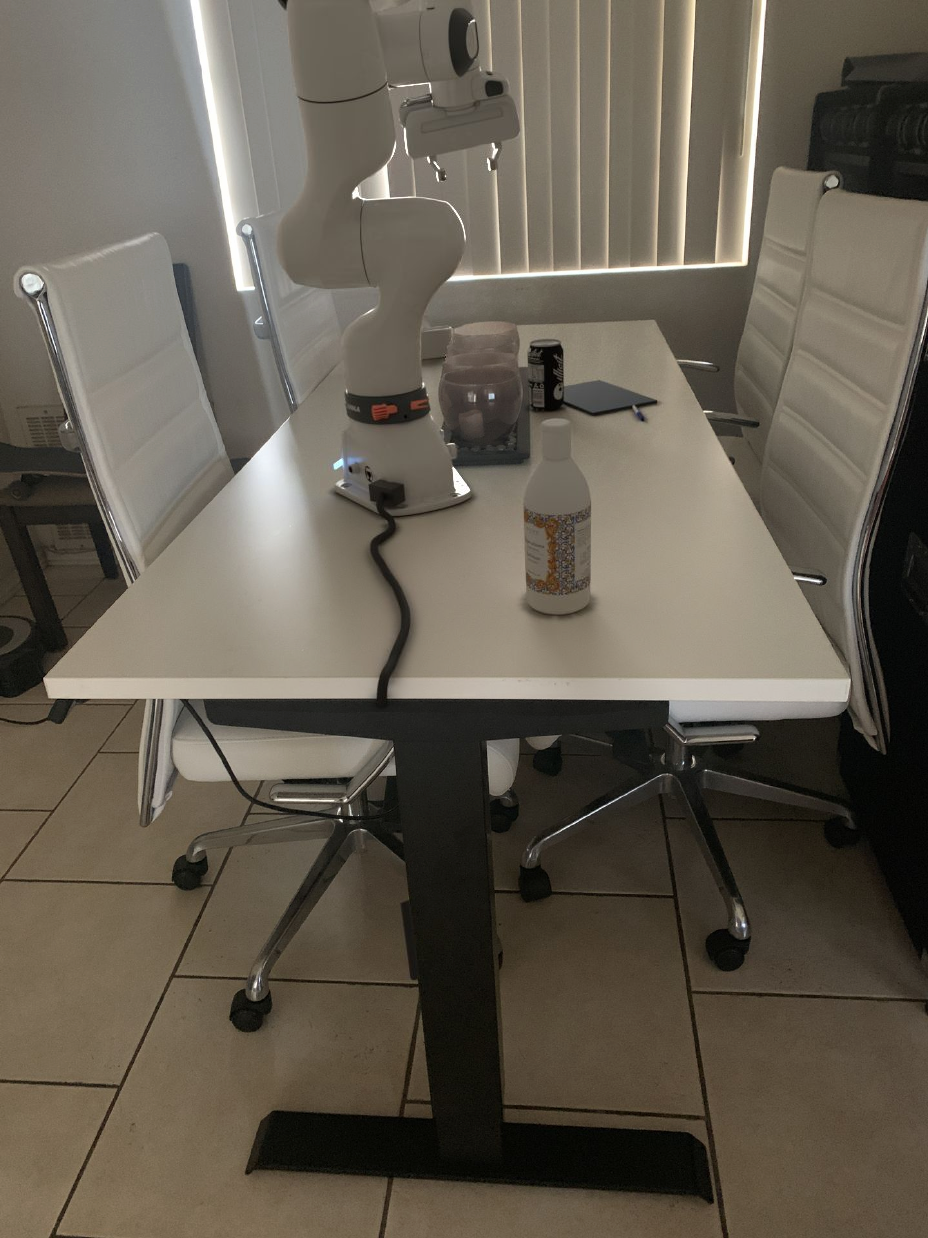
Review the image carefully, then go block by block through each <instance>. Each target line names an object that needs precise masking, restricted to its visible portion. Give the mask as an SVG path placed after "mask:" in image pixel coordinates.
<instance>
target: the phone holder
mask: <svg viewBox="0 0 928 1238" xmlns="http://www.w3.org/2000/svg"><path fill="white" fill-rule="evenodd" d="M452 329H453V328H452V327H451V326H449V325H439V326H431V325H430V322H429V321H428V319H427V315H425V316H424V320H423V324H422V330H421V361H422V360H430V359H437V358H445V355H446V354H447V346H448V345H449V342H450V341H451V338H452V339H453V330H452Z"/></svg>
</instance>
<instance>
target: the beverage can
mask: <svg viewBox="0 0 928 1238" xmlns="http://www.w3.org/2000/svg"><path fill="white" fill-rule="evenodd" d="M564 354H565V353H564V348H563V346H562V341H561V340H560V339H556V338H541V339H540V338H539V339H534V340H531V341H529V347H528V349H527V354H526V355H527V388H528V389H527V390H528V405H529V406H530V408H531V409H532V410H534V411H537V412H553V411H557V410H559V409H561V408H562V406H563V405H564V386H565V375H564V373H565V371H564V370H565V369H564V368H565V367H564V364H565V363H564V360H565V359H564V357H565V356H564Z"/></svg>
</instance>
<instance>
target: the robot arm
mask: <svg viewBox="0 0 928 1238" xmlns="http://www.w3.org/2000/svg"><path fill="white" fill-rule="evenodd" d="M277 1H278V3H279V5H280V7H282V9H283V10H284V11H285V12H286V28H287V29H286V30H287V42H288V52H289V59H290V60H289V61H290V67H291V74H292V79H293V84H294V90H295V94H296V100H297V104H298V109H299V113H300V114H299V115H300V120H301V125H302V130H303V137H304V144H305V151H306V172H305V179H304V182H303V185H302V188H301V191H300V193H299V195H298V197H297V199H295V202H294V203H293V204H292V206H291V207H289V208H288V210H287V211H286V212H285V213H284V214H283V216H282V217H281V219H280V220H279V223H278V226H277V228H276V232H275V240H274V242H275V243H274V246H275V254H276V258H277V260H278V263H279V266H280V267H281V269H282V271H283V272H284V273H285V275H286V276H287V277H288V279H289V280H290V281H292V283H294V285H299V286H302V287H303V286H304V287H309V288H315V289H322V290H343V289H345V290H346V289H364V288H365V289H366V288H373V289H377V290H378V301H377V305H376V307H374V308H372V309H371V310H369V311H367V312H366V313H364V314H362V315H360V316H359V317H358V318H357V319H355V320H353V321H352V322H351V323H350V324H349V325H348V326H347V327H346V329H345V330H344V332H343V335H342V338H341V351H342V361H343V369H344V375H345V376H344V377H345V384H346V389H345V390H344V406H345V410H346V411H345V412H346V415H347V417H348V421H347V423H346V426H345V427H344V428H343V430H342V431H341V433H340V435H339V439H340V440H339V441H340V453H341V458H340V459H339V460H337V461H336V462H335V463H333V470H337V469H339V468H341V466H342V479H340V480H338V481H337V482H336V483H335V484H334V491H335V493H337V494H339V495H341V496H343V497H345V498H347V499H348V500H351V501H353V502H354V503H357V504H359V505H361V506H362V507H364V508H367V509H368V510H370V511H372V512H374V513H376V514H378V515H379V516H380V517H382V519H384V520H385V521H386V522H387V524H388V527H387V528H386V529H385V530H384V531H383V532H381V533H379V534H377V535H376V536H375V537H374V538H373V539H371V541H370V546H369V551H370V554H371V557H372V559H373V560H374V562H375V564H376V565H377V566H378V568H379V570H380V572H381V574H382V575H383V577H384V579H385V580H386V581H387V583H388V584H389V586H390V587H391V589H392V591H393V593H394V596H395V598H396V601H397V603H398V606H399V607H398V608H399V611H400V627H399V632H398V635H397V636H396V640H395V642H394V644H393V645H392V648H391V650H390V653H389V657H388V658H387V660H386V663H385V665H383V667H382V669H381V672H380V674H379V677H378V681H377V687H376V699H375V700H376V701H375V705H376V708H377V709H378V710H383V709H386V708H387V706H388V690H389V689H388V688H389V682H390V678H391V676H392V674H393V672H394V671H395V669H396V667H397V666H398V662H399V660H400V657H401V654H402V652H403V649H404V647H405V644H406V642H407V639H408V636H409V632H410V628H411V611H410V607H409V603H408V600H407V597H406V595H405V593H404V590H403V588H402V587H401V584H400V583H399V581H398V580H397V579H396V576H394V574H393V572H392V571H391V570H390V568H389V567H388V565H387V563H386V560H385V559H384V557H382V555H381V553H380V551H379V544H380V543H382V542H384V541H386V540H387V539H389V538H390V537H391V536H393V535H394V533H395V531H396V530H397V529H396V528H397V523H396V519H395V518H394V517H399V516H401V517H402V516H409V515H416V514H422V513H427V512H431V511H436V510H440V509H445V508H448V507H453V506H456V505H459V504H461V503H462V502H465V501H467V500H469V499H470V498H472V497H473V496H472V495H473V494H472V490H471V489H470V487H469V486H468V485H467V483H466V481H465V480H464V479H463V478H462V476H461V475H460V474H459V472H458V470H457V469H456V468H455V467H454V464H453V460H456V459H457V458H458V450H457V446H456V444H455V443H454V442H451V443H446V441H445V431H444V430H443V429H439V428H438V426H437V424H436V422H435V420H434V416H432V415H431V413H430V412H431V404H430V398H429V393H428V391H427V386H426V384H425V382H423V371H422V360H421V330H422V324H423V320H424V316H426V313H427V310H428V308H429V306H430V304H431V302H432V300H433V298H434V297H435V295H436V294H437V292H438V291H439V290H440V288H441V287H442V286H443V285H444V284H445V283H447V281H449V280H450V279H451V278H453V276H454V275H455V274H456V272H457V271H458V269H459V268H460V266H461V265H462V261H463V259H464V256H465V251H466V242H467V241H466V240H467V239H466V232H465V228H464V224H463V221H462V219H461V217H460V215H459V214H458V212H457V211H456V210H455V208H454V207H453V206H452V205H451V204H450V203H449V202H448V201H445V200H441V199H440V200H439V199H434V198H429V197H428V198H427V197H421V196H420V197H419V196H403V197H401V196H399V197H386V198H369V199H367V198H362V197H360V195H359V190H358V187H360V185H362V184H363V183H364V182H366V181H367V180H369V179H371V178H372V177H374V176H376V175H377V174H378V173H380V172H381V171H382V170H383V169H384V168H385V167H386V166H387V165H388V164H389V163H390V162H391V160H392V157H393V156H394V153H395V150H396V146H397V136H396V128H395V127H396V126H395V122H394V121H395V120H394V115H393V108H392V107H393V106H392V101H391V94H390V90H393V89H398V88H400V87H407V86H408V87H409V86H414V85H415V86H417V85H425V84H428V85H429V91H430V92H429V93H426V94H422V95H419V96H416V97H407V98H406V99H404V101H403V102H402V103H401V104H400V105H399V107H398V109H397V115H398V120H399V124H400V126H401V127H402V128H403V132H404V133H403V134H404V143H405V150H406V154H407V156H408V157H409V158H410V159H412V160H413V161H415V160H421V159H426V158H427V161H428V163H429V165H430V166H431V167H432V169H433V170H434V171H435V173H436V179H437V182H438V183H441V182H447V176H446V175H447V173H446V169H445V167H439V166H438V165H437V162H438V157H437V156H439V155H440V156H441V155H445V154H449V153H454V152H459V151H463V150H468V149H473V148H478V147H483V146H488V145H491V146H492V148H493V152H492V155H491V157H487V164H488V165H487V166H488V167H487V168H488V170H489V172H493V171H498V170H499V164H498V160H499V157H500V155H501V152H502V149H503V143H502V142H506V141H512V140H515V139H518V138H519V135H520V134H521V129H522V128H521V121H520V115H519V111H518V106H517V103H516V101H515V99H514V97H513V96H512V94H511V93H510V91H511V85H510V81H509V79H508V78H507V77H506V75H504V74H503V73H501V72H498V71H492V70H484V69H481V63H480V57H479V54H480V43H479V31H478V25H477V24H478V23H477V19H475V13H474V7H473V1H472V0H418V9H419V10H414V11H413V10H412V11H407V12H406V11H405V12H400V13H399V12H398V13H392V14H391V13H390V14H378V13H380V12H384V11H387V10H391V9H393V8H398V7H400V6H403V5H406V4H407V3H409V2H410V1H411V0H277ZM400 911H401V918H402V925H403V933H404V939H405V949H406V956H407V963H408V970H409V978H410V980H412V981H416V980H418V979H419V978H420V972H419V971H420V970H419V964H418V956H417V948H416V939H415V931H414V924H413V916H412V907H411V901H410V899H407V900H405V901H403V902H400Z"/></svg>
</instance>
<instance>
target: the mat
mask: <svg viewBox="0 0 928 1238" xmlns="http://www.w3.org/2000/svg"><path fill="white" fill-rule="evenodd" d="M653 404H658V400H657V399H654V398H652V397H649V396H646V395H643V394H641V393H638V392H635V391H631V390H629V389H626V388H623V387H620V386H618V385H615V384H612V383H608V382H605V381H603V380H600V379H597V380H592V381H587V382H586V381H585V382H580V383H574V384H569V385H564V403H563V405H567V406H569V407H571V408H574V409H576V410H578V411H581V412H583V413H586V414H588V415H591V416H597V415H603V414H606V413H607V414H608V413H613V412H617V411H623V410H628V409H633V408H632V406H633V405H635V407H636V408H638V407H643V406H648V405H653Z"/></svg>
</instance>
